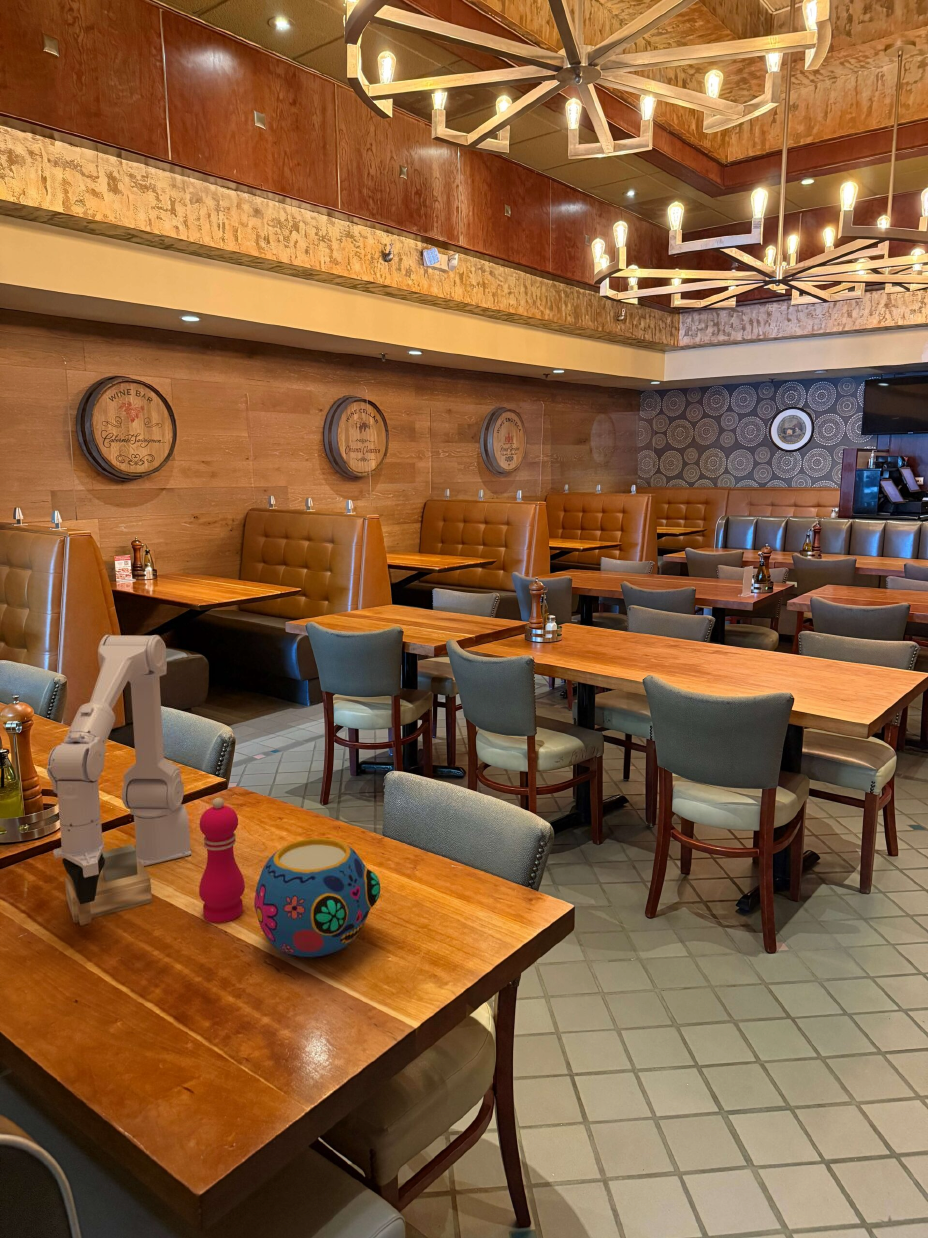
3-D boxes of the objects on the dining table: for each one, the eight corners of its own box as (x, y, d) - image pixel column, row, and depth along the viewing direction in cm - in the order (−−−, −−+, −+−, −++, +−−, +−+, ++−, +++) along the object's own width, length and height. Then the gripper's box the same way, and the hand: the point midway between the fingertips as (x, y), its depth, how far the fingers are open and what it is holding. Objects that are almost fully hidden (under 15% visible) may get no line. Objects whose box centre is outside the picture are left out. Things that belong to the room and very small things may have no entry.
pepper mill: (233, 927, 129) (227, 808, 126) (191, 922, 131) (185, 804, 127) (253, 904, 136) (248, 791, 133) (214, 900, 138) (208, 788, 134)
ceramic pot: (321, 994, 112) (319, 893, 110) (231, 955, 122) (227, 862, 119) (395, 935, 127) (395, 845, 125) (310, 904, 136) (308, 820, 134)
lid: (140, 865, 143) (138, 837, 142) (150, 882, 136) (148, 853, 135) (65, 883, 136) (63, 854, 135) (72, 902, 130) (70, 872, 129)
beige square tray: (139, 880, 144) (138, 856, 144) (154, 906, 136) (152, 881, 135) (65, 898, 138) (63, 873, 137) (75, 927, 129) (73, 901, 128)
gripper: (45, 808, 128) (52, 888, 130) (58, 842, 116) (65, 929, 118) (93, 799, 132) (99, 877, 134) (110, 831, 120) (116, 915, 122)
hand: (86, 901), depth 127 cm, fingers closed
